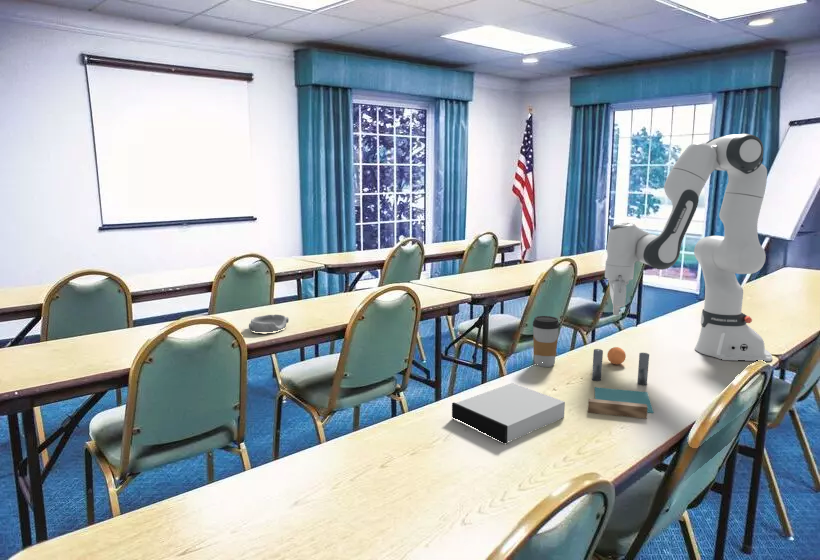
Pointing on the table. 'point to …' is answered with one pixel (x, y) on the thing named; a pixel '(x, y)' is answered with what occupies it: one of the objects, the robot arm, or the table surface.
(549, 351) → the coffee cup
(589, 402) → the stopper wall
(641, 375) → the post
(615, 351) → the ball
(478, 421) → the disc drive
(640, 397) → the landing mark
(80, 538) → the table surface
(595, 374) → the post
